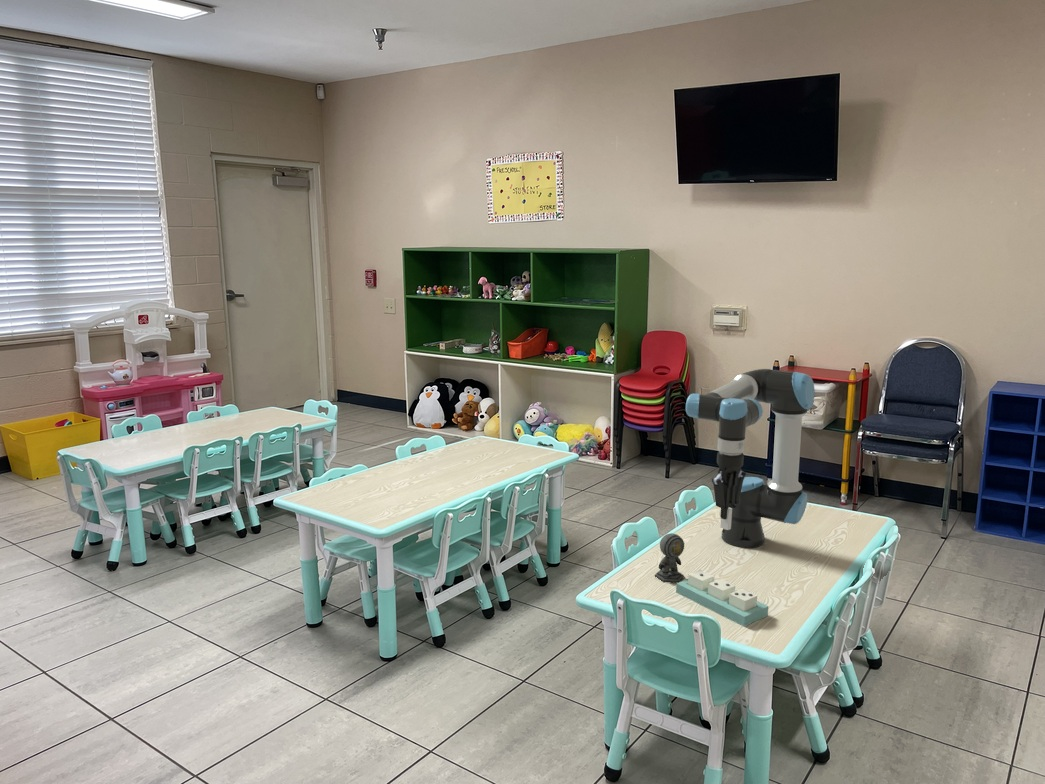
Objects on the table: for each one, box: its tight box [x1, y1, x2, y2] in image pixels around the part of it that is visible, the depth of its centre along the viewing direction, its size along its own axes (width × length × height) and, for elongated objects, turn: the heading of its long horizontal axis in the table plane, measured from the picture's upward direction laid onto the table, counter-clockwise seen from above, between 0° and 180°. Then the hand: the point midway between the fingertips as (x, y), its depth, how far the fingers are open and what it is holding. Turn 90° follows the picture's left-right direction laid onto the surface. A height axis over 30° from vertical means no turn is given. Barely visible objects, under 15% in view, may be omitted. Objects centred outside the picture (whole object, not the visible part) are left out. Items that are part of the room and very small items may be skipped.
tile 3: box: [729, 588, 758, 612], centre depth 229 cm, size 6×6×4 cm
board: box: [675, 578, 769, 627], centre depth 236 cm, size 26×11×3 cm, turn 36°
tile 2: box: [708, 578, 736, 601], centre depth 235 cm, size 6×6×4 cm
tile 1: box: [687, 569, 715, 591], centre depth 241 cm, size 6×6×4 cm
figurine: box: [654, 532, 685, 584], centre depth 252 cm, size 9×10×15 cm
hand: (725, 528), depth 231 cm, fingers closed
